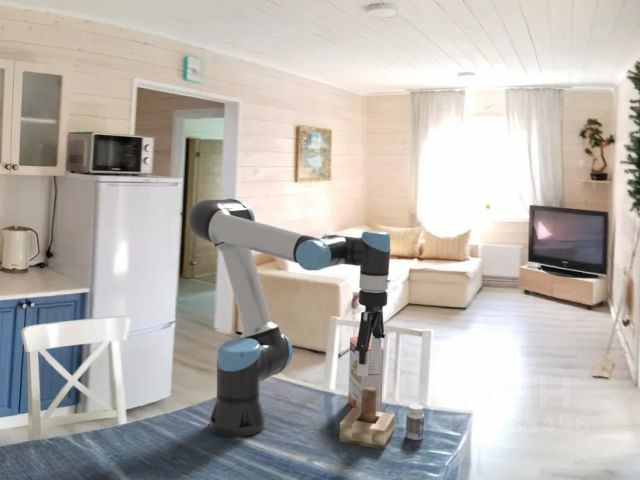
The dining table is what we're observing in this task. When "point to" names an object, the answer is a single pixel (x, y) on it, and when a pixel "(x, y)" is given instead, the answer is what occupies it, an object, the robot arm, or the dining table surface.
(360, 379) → the cracker box
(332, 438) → the dining table surface
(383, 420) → the bore block
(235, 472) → the dining table surface
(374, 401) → the pin
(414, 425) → the pill bottle
